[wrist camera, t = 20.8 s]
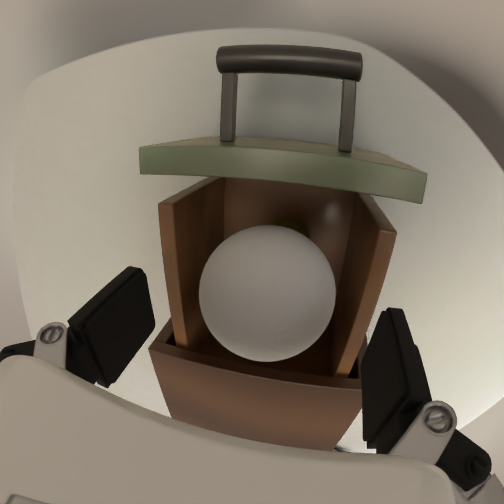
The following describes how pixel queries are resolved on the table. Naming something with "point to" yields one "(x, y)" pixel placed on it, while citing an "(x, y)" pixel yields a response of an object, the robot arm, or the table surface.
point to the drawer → (282, 205)
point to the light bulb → (267, 291)
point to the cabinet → (256, 397)
